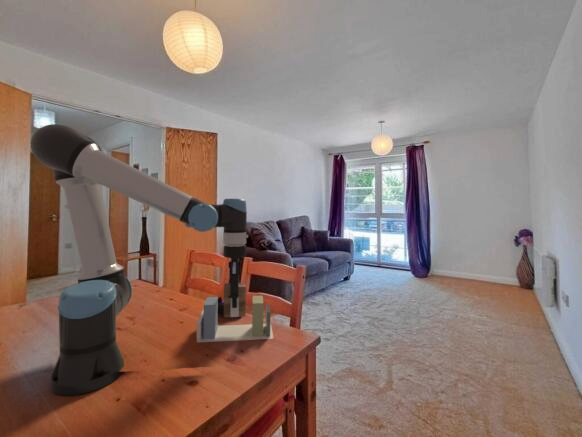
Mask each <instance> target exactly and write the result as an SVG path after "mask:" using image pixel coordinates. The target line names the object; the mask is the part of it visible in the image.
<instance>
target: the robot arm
mask: <svg viewBox="0 0 582 437" xmlns="http://www.w3.org/2000/svg"><path fill="white" fill-rule="evenodd" d="M30 149H31V152H32V154H33V156H34V158H36V160H37V161H38V162H39V163H40V164H42V165H43V166H45V167H47V168H49V169H52V172H53V178H54V181H55V184H57V185H59V186H61V187H62V188H63V190H64V194H65V197H66V198H65V199H66V203H67V207H68V211H69V216H70V220H71V225H72V230H73V234H74V237H75V238H74V239H75V243H76V247H77V251H78V256H79V261H80V266H81V272H80V274H79V275H78V276H77V282H78V283H74V284H72V285H70V286H67V287H66V288H65V289H64V290H62V291H61V293H60V295H59V299H58V300H59V301H58V304H57V310H58V330H59V331H58V332H59V335H58V336H59V355H58V358H57V360H56V363H55V365H54V368H53V370H52V373H51V377H50V391H51V392H52V393H53V394H55V395H58V396H63V397H65V396H66V397H68V396H79V395H83V394H88V393H92V392H94V391H97V390H100V389H102V388H104V387H106V386H107V385H111V383H113V382H114V381H115V380H117V379H119V378H120V376H121V375H122V374H123V373H124V371H121V370H122V369H123V368H124V366H125V362H124V360H125V359H124V357H123V354H122V352H121V350H120V348H119V345H118V342H117V317H118V315H120V313H121V312H122V311H123V310H124V309H125V308H126V307H127V305H128V304H129V302H130V301H131V299H132V298H131V297H132V295H133V285H132V282H131V281H130V279H129V278H128V277H127V276H126V273H125V272H126V271H125V269H124V268H125V267H124V266H123V265H121V264H119V263H118V261H117V258H116V252H115V248H114V243H113V240H112V235H111V228H110V226H109V225H110V224H109V219H108V215H107V211H106V206H105V202H104V196H103V192H102V187H101V186H103V187H105V188H108V189H110V190H111V191H115V192H117V193H119V194H121V195H123V196H125V197H127V198H130V199H132V200H134V201H136V202H138V203H140V204H142V205H144V206H147V207H149V208H151V209H153V210H155V211H157V212H159V213H162V214H164V215H166V216H168V217H171V218H173V219H175V220H177V221H179V222H181V223H183V224H184V226H185V227H186V228H191V229H193V230H195V231H198V232H201V233H206V232H210V231H212V229H214V228H223V245H224V246H223V257H225V258H228V259H230V261H229V262H228V268H229V272H228V273H229V274H228V276H229V277H230V278H229V279H230V280H229V282H230V296H228V298H230V317H234V318H240V317H239V295H238V283H240V276H241V267H242V261H241V260H240V258H245V257H246V256H247V245H246V244H247V239H248V238H249V234H247V219H248V218H247V217H248V216H247V215H248V212H247V202H246V200H245V199H244V198H224V199H223V201H222V202H223V203H220V204H210V203H206V202H204V201H202V200H200V199H198V198H197V197H194V196H192V195H190V194H188V193H186V192H184V191H181V190H180V189H179V188H176V187H174V186H172V185H169V184H168V183H166V182H164V181H162V180H160V179H158V178H156V177H153V176H152V175H150V174H148V173H146V172H144V171H142V170H140V169H138V168H136V167H133V165H130V164H128V163H125V162H124V161H122V160H120V159H119V158H116V157H114V156H112V155H110V154H108V153H106V152H104V151H103V149H102V147H101V146H100V145H99V144H98V143H97V142H96V141H95V140H93V138H91V137H89V136H87V135H84V134H83V133H80V131H78V130H76V129H75V128H73V127H70V126H68V125H64V124H58V123H57V124H56V123H55V124H54V123H51V124H45V125H44V126H42V127H40V128H38V129H37V130H35V132H34V133H33V134H32V136H31V139H30ZM230 317H229V318H230Z"/></svg>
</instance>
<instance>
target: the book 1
mask: <svg viewBox="0 0 582 437" xmlns="http://www.w3.org/2000/svg"><path fill="white" fill-rule="evenodd" d="M218 298H219V297H218V296H207V297H206V300H205V301H204V304H203V310H204V339H215V336H216V332H217V328H218V326H219V323H218V320H219V318H218V315H219V314H218Z"/></svg>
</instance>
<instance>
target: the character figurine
mask: <svg viewBox="0 0 582 437" xmlns="http://www.w3.org/2000/svg"><path fill="white" fill-rule="evenodd" d="M218 315H220V316H223V317H224V299H222V296H219V297H218ZM229 319H235V317H229Z"/></svg>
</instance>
